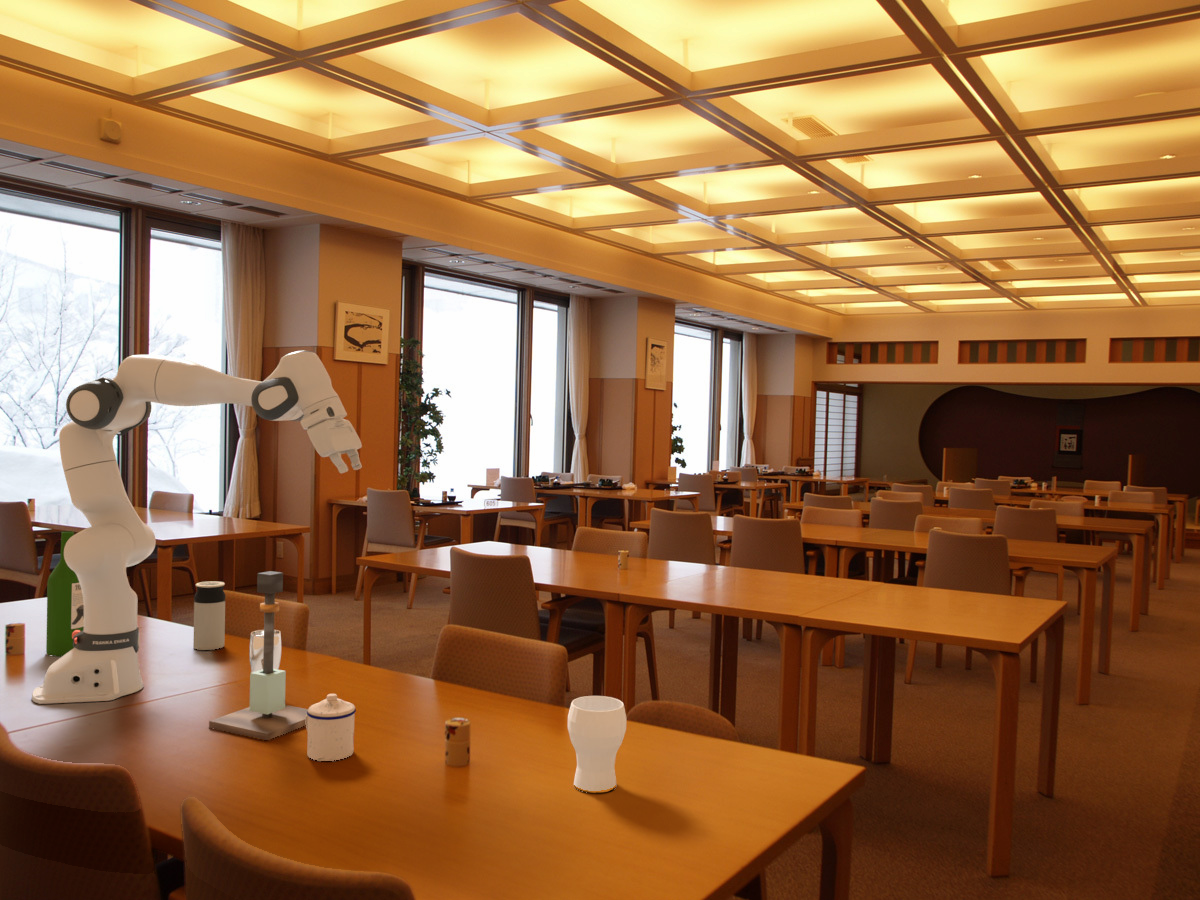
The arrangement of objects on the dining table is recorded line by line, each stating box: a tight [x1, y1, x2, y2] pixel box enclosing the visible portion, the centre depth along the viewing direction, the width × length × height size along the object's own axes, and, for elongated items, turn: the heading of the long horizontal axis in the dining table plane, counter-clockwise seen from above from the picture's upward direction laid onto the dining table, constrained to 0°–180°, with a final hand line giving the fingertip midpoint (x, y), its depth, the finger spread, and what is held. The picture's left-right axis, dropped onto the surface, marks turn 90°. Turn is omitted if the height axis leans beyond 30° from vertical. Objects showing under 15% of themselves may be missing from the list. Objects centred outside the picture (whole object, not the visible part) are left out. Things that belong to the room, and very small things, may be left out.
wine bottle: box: [45, 530, 84, 657], centre depth 246 cm, size 9×9×32 cm
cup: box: [567, 695, 628, 791], centre depth 166 cm, size 11×11×15 cm
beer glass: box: [248, 629, 282, 673], centre depth 213 cm, size 7×7×15 cm
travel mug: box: [192, 580, 226, 651], centre depth 256 cm, size 8×8×18 cm
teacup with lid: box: [305, 693, 357, 762], centre depth 178 cm, size 12×9×12 cm
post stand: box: [208, 570, 308, 741], centre depth 194 cm, size 16×16×32 cm
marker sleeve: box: [249, 669, 287, 715], centre depth 194 cm, size 5×5×8 cm
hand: (351, 470), depth 211 cm, fingers open, 8 cm apart
